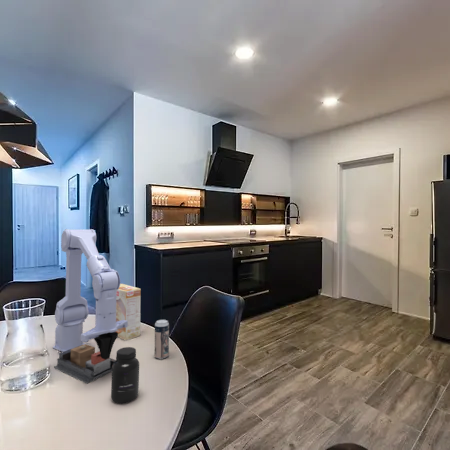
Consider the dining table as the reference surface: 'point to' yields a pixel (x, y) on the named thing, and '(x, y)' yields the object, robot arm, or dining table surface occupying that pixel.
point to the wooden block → (82, 354)
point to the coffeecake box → (128, 310)
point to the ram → (97, 363)
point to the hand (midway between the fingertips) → (105, 357)
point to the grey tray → (78, 368)
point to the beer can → (161, 339)
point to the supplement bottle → (125, 376)
